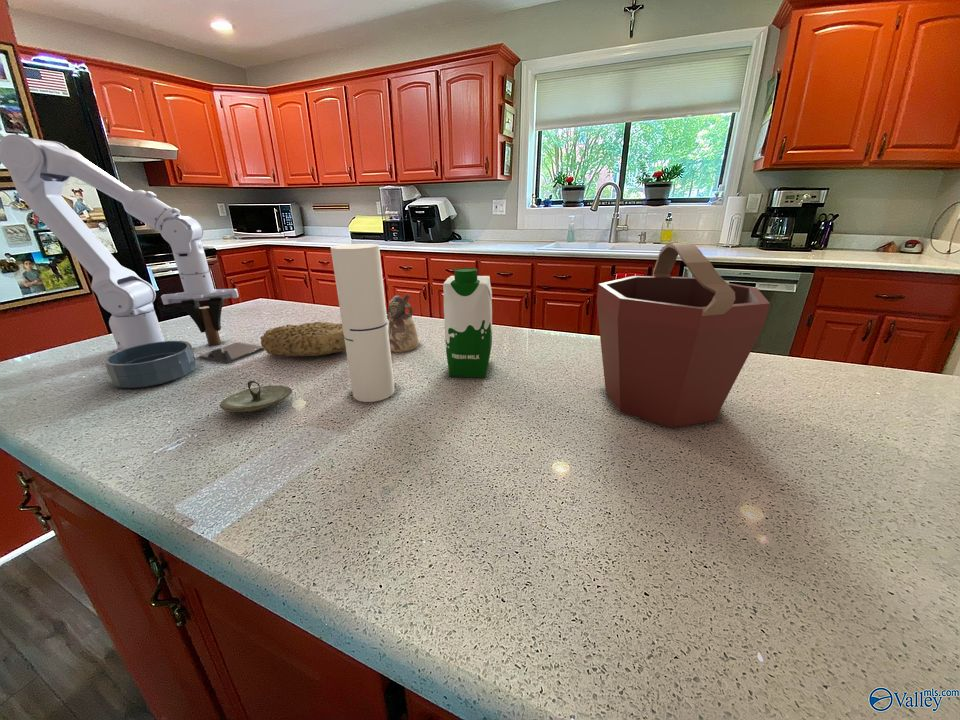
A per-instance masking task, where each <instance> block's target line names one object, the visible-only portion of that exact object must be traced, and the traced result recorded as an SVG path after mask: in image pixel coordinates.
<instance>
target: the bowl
mask: <svg viewBox="0 0 960 720" xmlns="http://www.w3.org/2000/svg"><path fill="white" fill-rule="evenodd" d="M103 365H104V367H105V369H106V371H107V374H108V377H109V379H110V381H111V383H112V384H113V386H114V387H118V388H146V387H154V386H158V385H162V384H165V383H169V382H172V381H174V380H178V379H180V378H182V377H184V376H186V375H188V374H190V373H191V372H193V371H194V370H195V369H196V368H197V365H198V364H197V360H196V358H195V354H194V350H193V347H192V344H191V343H189V342H188V341H184V340H165V341H161V342H154V343H147V344H143V345H138V346H134V347H130V348H127V349H123V350H120V351H118V352H116V351H114V352H113V353H111V354H109V355H108V356H106V357H105V358H104V359H103Z"/></svg>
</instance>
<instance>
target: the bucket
mask: <svg viewBox="0 0 960 720" xmlns="http://www.w3.org/2000/svg"><path fill="white" fill-rule="evenodd" d="M678 256H679V258H680V260H681V261H682V262H683V263H684V264H685V266H686V267H687V269H688V271H689V272H690V274H691V275H692V276H671V273H672V270H673V268H674V267H675V264H676V261H677V258H678ZM596 296H597V297H596V311H597V320H598V330H599V331H598V332H599V339H600V349H601V361H602V367H603V368H602V370H603V378H604V387H605V388H604V389H605V392H606V394H607V395H608V397H609V399H610V400H611V401H612V403H613V404H614V406H615V407H616V408H617V410H618V411H619V412H620V414H624V415H628V416H631V417H633V418H637V419H641V420H644V421H647V422H651V423H653V424H657V425H661V426H664V427H667V428H670V429H671V428H678V427H683V426H690V425H696V424H704V423H708V422H709V423H710V422H715V420H716V418H717V417H718V415H719V413H720V411H721V409H722V407H723V405H724V403H725V401H726V399H727V398H728V396H729V394H730V392H731V390H732V388H733V386H734V384H735V382H736V380H737V378H738V377H739V375H740V373H741V371H742V369H743V367H744V365H745V363H746V361H747V360H748V358H749V356H750V355H751V352H752V350H753V348H754V346H755V344H756V343H757V341H758V339H759V336H760V334H761V333H762V331H763V329H764V327H765V324H766V320H767V317H768V312H769V308H770V305H771V303H770V301H769V300H768V299H767V298H766V297H765V296H764V295H763V293H762V292H761V291H760V290H759V289H758V288H757V287H755V286H754V287H753V286H749V285H742V284H737V283H730V282H726V280H725V279H724V277H722V276H721V275H720V273H718V272H717V270H716V268H715V267H714V266H713V264H712V262H711V261H710V260H709V259H708V258H707V257H706V256H705V255H704V254H703V252H702V251H701V250H700V249H699V248H698V247H697V246H696V245H695V244H693V243H688V242H687V243H682V242H681V243H680V242H679V243H666V244H665V246H663V247H662V249H660V251H659V253H658V256H657V258H656V261H655V264H654V268H653V272H652V276H651V275H645V276H644V275H631V276H625V277H622V278H618V279H613V280H610V281H605V282H601V283H598V284H597V293H596Z"/></svg>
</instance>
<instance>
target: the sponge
mask: <svg viewBox="0 0 960 720" xmlns="http://www.w3.org/2000/svg"><path fill="white" fill-rule="evenodd" d="M260 345H261V347H263V348H264V349H263V351H266V353H267V354H269V355H273V356H286V357H287V356H289V357H290V356H294V357H296V356H300V357H305V356H306V357H307V356H309V357H316V356H317V357H318V356H325V355H332V354H337V353H342V352H344V351H345V352H346V346H345V339H344V333H343V326H342V323H335V322H327V321H326V322H322V321H318V322H317V321H316V322H306V323H302V324H291V323H290V324H286V326H285V325H282V326H275V327H271V328H268V329H267V330H265V332H264V333H263V335H261V336H260Z"/></svg>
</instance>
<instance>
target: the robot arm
mask: <svg viewBox="0 0 960 720" xmlns="http://www.w3.org/2000/svg"><path fill="white" fill-rule="evenodd" d="M0 163H1V164H2V165H3V166H4V167H5V169H7V170H8V173H9V175H10V177H11V180H12V182H13V186H14V187H15V190H16V192H17V195H18V196H19V198H20V199H21V200H22V201H23V202H24V203H25V205H27V206H28V208H30V210H31V211H32V212H33V213H34V214H35V215H36V216H37V217H38V218H39V219H40V221H41V222H42V223H43V224H44V225H45V227H47V229H49V231H51V233H52V234H53V235H54V236H55V237H56V238H57V240H59V241H60V243H61V244H62V245H63V246H64V247H65V248H66V249H67V251H69V253H70V254H71V255H72V257H74V258H75V259H76V261H78V262H79V264H80V265H81V266H82V267H83V268H84V269H85V271H87V272H88V274H89V275H90V276H91V277H92V280H91V285H90V288H91V290H92V291H93V292H94V293H95V295H96V296H97V299H98V302H99V304H100V306H101V307H102V308H103V309H104V310H105V311H106V312H108V313H110V314H111V316H110V317H109V320H108V325H109V328H110V331H111V334H112V336H113V338H114V342H115V344H116V346H117V347H116V348H114V349H113V352H118V351H120V350H123V349H127V348H130V347H134V346H138V345H143V344H147V343H154V342H161V341H166V340H165V337H164V335H163V332H162V328H161V326H160V325H161V324H160V323H159V319H158V316H157V314H156V310H155V307H154V302H155V300H156V297H157V293H156V290H155V288H154V287H153V285H152V284H151V283H150V282H148V281H146V280H144V279H143V278H141V277H140V276H139V275H138V274H137V273H136V272H135V271H133V270H132V269H130V268H127V267H125V266H123V265H121V264H120V262H119V261H118V260H117V258H115V257H114V255H113V254H112V253H111V252H110V251H109V250H108V248H107V247H106V246H105V245H104V244H103V243H102V241H101V240H100V239H99V238H98V237H97V236H96V234H94V232H93V231H92V229H90V227H88V225H87V224H86V223H85V222H84V221H83V220H82V218H81V217H80V216H79V215H78V214H77V213H76V211H75V210H74V208H73V207H71V206H70V204H69V203H68V202H67V201H66V200H65V199H64V198H63V196H62V193H63V189H64V187H65V186H66V184H67V183H68V181H69V180H70V179H71V178H75V179H78V180H80V181H81V182H83V183H85V184H87V185H89V186H91V187H92V188H94V189H95V190H98V191H100V192H102V193H103V194H105V195H107V196H108V197H110V198H112V199H114V200H116V201H118V202H119V203H121V204H122V206H123V209H124V211H125V212H126V213H127V214H128V215H130V216H132V217H134V218H135V219H137V220H138V221H140V222H141V223H143V224H145V225H147V226H149V227H151V228H152V229H154V230H155V231H157V232H159V233H160V235H161V237H162V238H163V240H165V242H167V243H168V244H169V246H170V248H171V252H172V256H173V258H174V261H175V265H176V269H177V272H178V275H179V278H180V281H181V285H182V288H183V291H182V292H175V293H166V294H162V295H161V296H160V299H161V302H162V304H163V305H164V306H165V305H170V304H180V303H181V309H182V310H183V311H184V312H185V313H186V314H187V315H188V316H189V317H190V318H191V319H192V320H193V322H194V323H195V325H196V326H197V328H198V330H199V331H200V333H202V334H203V333H205V330H204V327H203V324H202V320H201V317H200V313H199V310H198V308H200V307H201V305H200V302H202V301H208V302H207V306H209V308H210V311H211V313H212V316H213V320H214V325H215V329H216V331H218V332H220V331H221V329H222V323H221V320H222V318H221V317H222V310H223V305H224V301H225V299H238V298H239V291H238V288H215V287H214V282H213V279H212V275H211V271H210V268H209V264H208V260H207V257H206V252H205V250H204V246H203V243H202V238H203V236H204V227H203V226H202V224H201V223H200V222H199V221H198V220H197V218H195V217H194V216H192V215H190V214H181V210H180V209H178V208H176V207H171V206H169V205H168V204H166V203H164V202H163V201H161V200H160V199H158V198H157V196H158V195H157V194H156V193H154V192H152V191H146V190H143V189H135V190H133V189H132V188H130V187H129V186H127V185H126V184H124V183H123V182H121V181H120V180H118V179H116V177H114V176H112V175H110V174H109V173H108V172H106V171H104V170H103V168H101V167H98V165H95V164H94V163H92V161H89V160H88V159H87V158H85V156H83V155H82V154H81V153H80V152H78V151H76V150H73V149H71V148H69V147H68V146H67V145H65V144H63V143H62V142H59V141H56V140H44V139H38V138H34V137H29V136H28V137H27V136H24V135H22V134H15V133H14V134H7V135H5V136H3V137H2V138H1V140H0Z"/></svg>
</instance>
